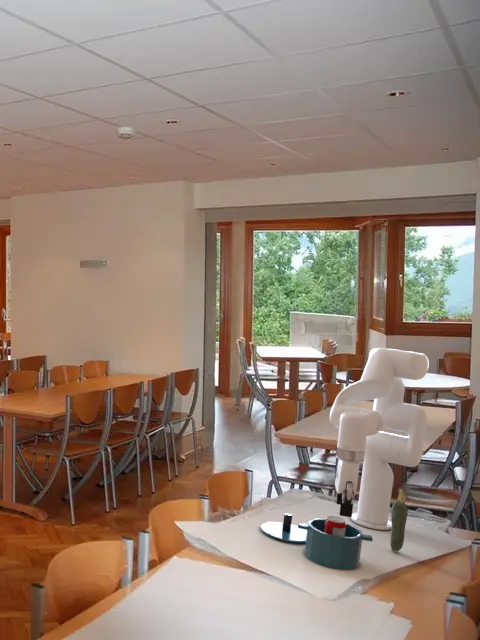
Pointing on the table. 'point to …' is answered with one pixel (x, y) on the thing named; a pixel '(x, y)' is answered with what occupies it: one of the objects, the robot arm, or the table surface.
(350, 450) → the robot arm
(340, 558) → the pot
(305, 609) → the table surface
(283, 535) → the lid
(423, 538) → the table surface
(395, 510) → the vegetable
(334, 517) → the soda can
